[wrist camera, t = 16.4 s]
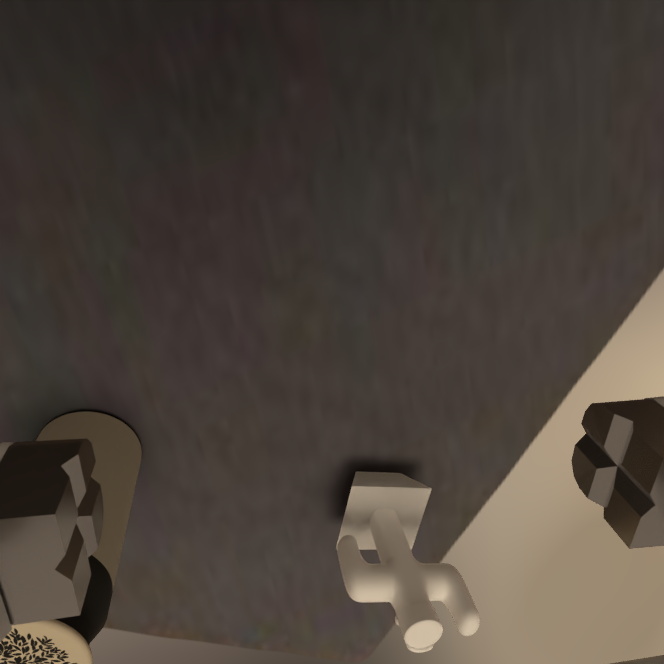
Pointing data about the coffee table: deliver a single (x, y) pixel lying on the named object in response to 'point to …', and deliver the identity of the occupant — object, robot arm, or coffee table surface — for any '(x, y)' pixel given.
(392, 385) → the coffee table surface
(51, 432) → the travel mug
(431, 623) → the figurine
